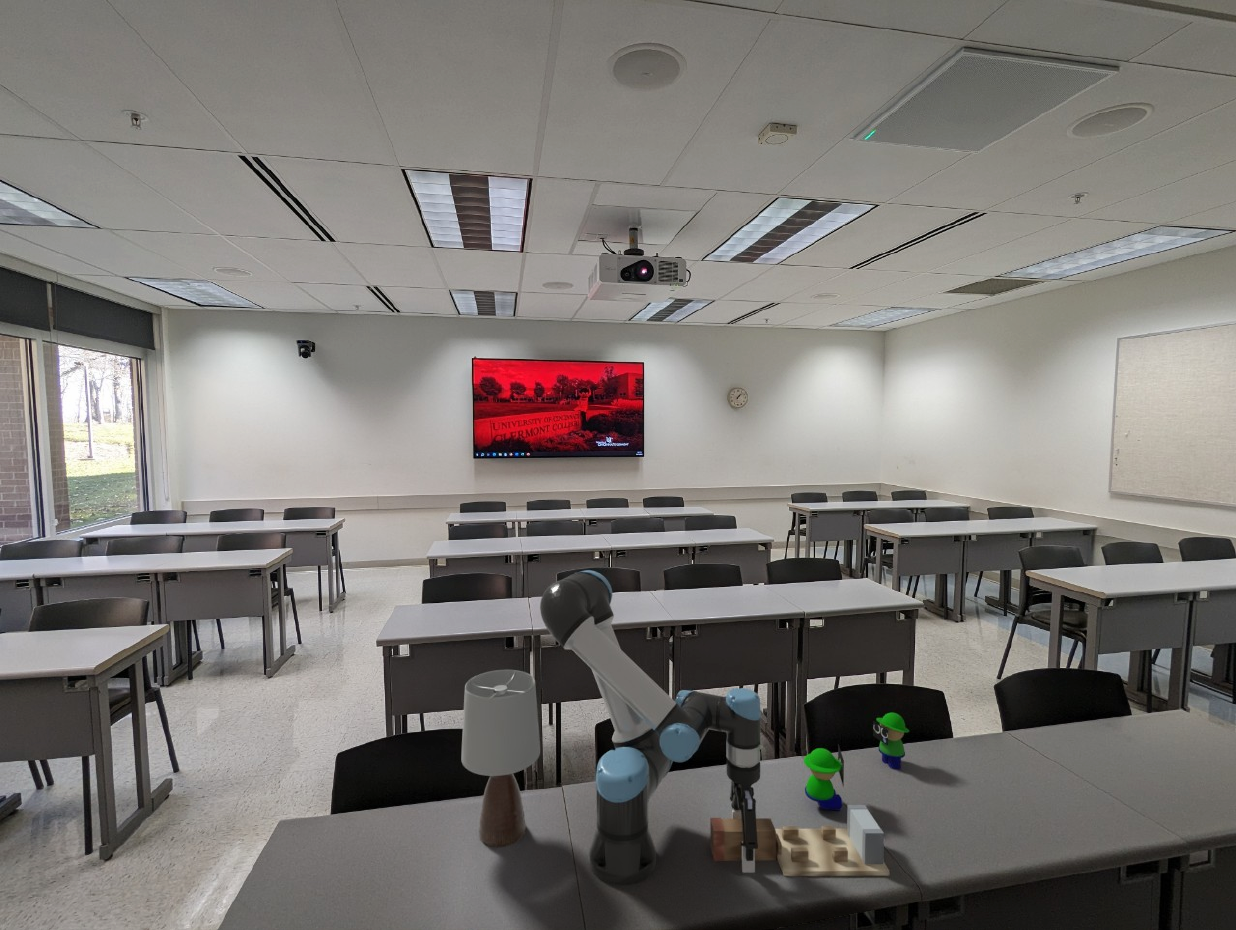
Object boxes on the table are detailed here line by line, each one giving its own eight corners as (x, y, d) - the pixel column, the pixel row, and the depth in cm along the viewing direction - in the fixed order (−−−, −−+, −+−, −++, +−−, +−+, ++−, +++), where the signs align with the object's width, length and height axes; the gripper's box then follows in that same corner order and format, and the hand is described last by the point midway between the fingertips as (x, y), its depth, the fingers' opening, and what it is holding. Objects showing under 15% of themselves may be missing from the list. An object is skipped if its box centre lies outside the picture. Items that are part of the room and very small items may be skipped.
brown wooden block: (713, 862, 134) (713, 831, 133) (710, 847, 138) (710, 817, 138) (775, 861, 134) (776, 830, 133) (770, 847, 138) (770, 817, 138)
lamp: (552, 815, 150) (551, 672, 148) (521, 866, 132) (519, 704, 131) (486, 803, 155) (484, 664, 153) (447, 851, 137) (444, 695, 136)
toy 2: (868, 758, 176) (869, 709, 175) (892, 753, 179) (893, 704, 178) (890, 774, 168) (891, 722, 167) (915, 769, 170) (916, 718, 170)
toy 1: (844, 820, 148) (845, 761, 147) (805, 815, 150) (805, 757, 149) (837, 794, 159) (838, 739, 158) (801, 790, 160) (801, 736, 160)
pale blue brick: (864, 864, 131) (865, 833, 131) (847, 834, 141) (847, 805, 141) (883, 864, 131) (883, 833, 131) (864, 833, 141) (864, 804, 141)
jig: (783, 876, 129) (784, 860, 129) (767, 833, 143) (767, 818, 143) (889, 876, 129) (889, 859, 129) (862, 833, 143) (862, 818, 143)
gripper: (773, 789, 124) (772, 892, 125) (748, 734, 146) (748, 821, 148) (737, 789, 123) (736, 892, 125) (718, 734, 146) (717, 821, 147)
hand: (742, 853), depth 136 cm, fingers open, 10 cm apart
